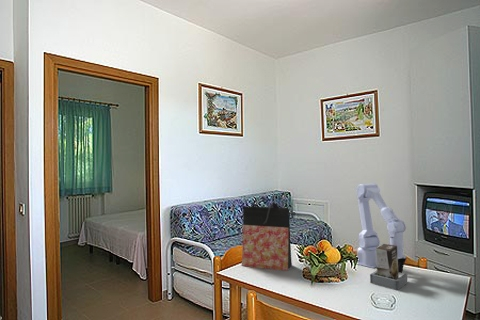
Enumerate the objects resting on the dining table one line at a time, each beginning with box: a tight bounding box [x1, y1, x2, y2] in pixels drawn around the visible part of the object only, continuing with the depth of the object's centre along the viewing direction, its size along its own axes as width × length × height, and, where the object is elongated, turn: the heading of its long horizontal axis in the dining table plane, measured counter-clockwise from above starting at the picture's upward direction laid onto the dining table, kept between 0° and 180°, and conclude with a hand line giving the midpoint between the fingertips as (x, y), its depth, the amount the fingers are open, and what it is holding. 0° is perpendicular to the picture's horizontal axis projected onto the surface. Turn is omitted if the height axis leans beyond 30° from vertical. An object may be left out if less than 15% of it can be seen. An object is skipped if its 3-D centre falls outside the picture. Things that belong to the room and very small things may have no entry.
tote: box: [369, 270, 408, 291], centre depth 142 cm, size 12×12×4 cm
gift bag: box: [241, 202, 296, 272], centre depth 168 cm, size 29×14×35 cm, turn 69°
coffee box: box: [376, 243, 400, 280], centre depth 143 cm, size 9×6×16 cm
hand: (397, 273), depth 149 cm, fingers open, 6 cm apart
